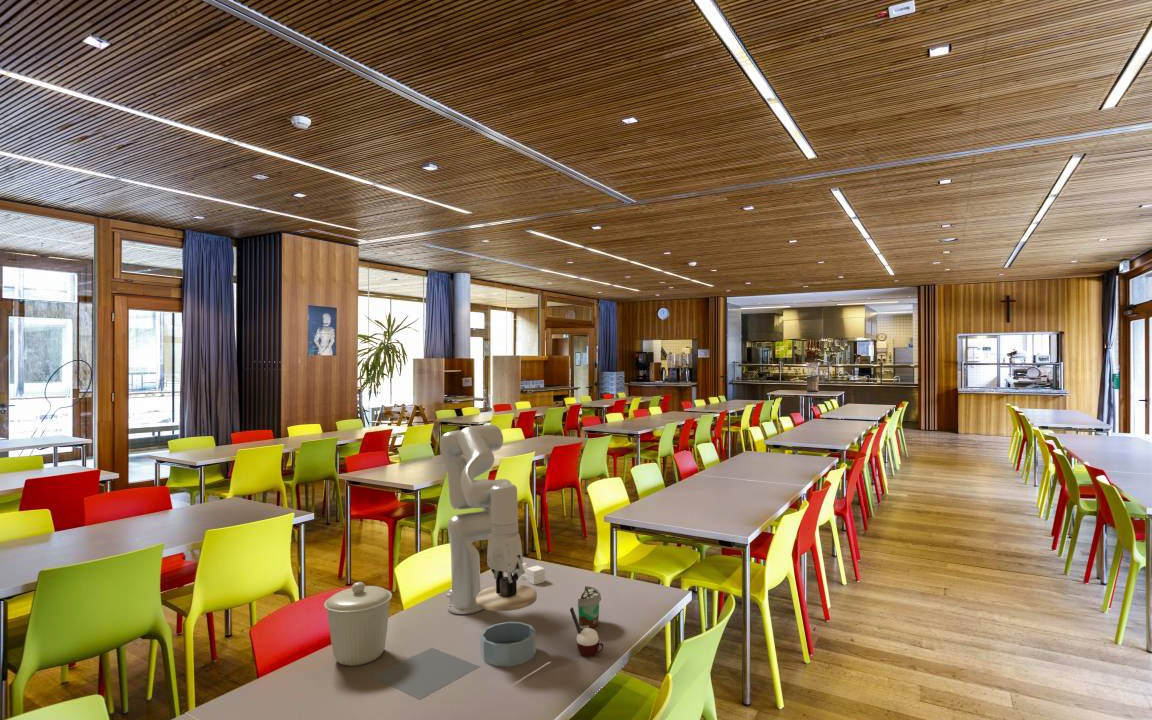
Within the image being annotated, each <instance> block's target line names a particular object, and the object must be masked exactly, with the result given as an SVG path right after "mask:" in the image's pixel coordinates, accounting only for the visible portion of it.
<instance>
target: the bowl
mask: <svg viewBox="0 0 1152 720" xmlns="http://www.w3.org/2000/svg"><path fill="white" fill-rule="evenodd" d="M536 631H537V630H536V629H535V628H534V627H533V626H532V624H528V623H525V622H521V621H507V622H506V621H505V622H500V623H495V624H492V625H490V626H488V627H486V628H484V629H483V630H482V632H481V634H480V635H479V637H480V639H479V640H480V642H479V643H480V657H481V660H482V661H483V663H486V664H488V665H491V666H494V667H513V666H518V665H522V664H525V663H526V662H528V661H530V660H533V658H534V657H535V655H536V654H537V636H536V635H537V632H536Z"/></svg>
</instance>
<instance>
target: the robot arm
mask: <svg viewBox="0 0 1152 720" xmlns="http://www.w3.org/2000/svg"><path fill="white" fill-rule="evenodd" d="M499 427H500V426H499ZM499 427H498V426H497V425H495V424H485V425H483V424H482V425H471V426H467V427H465V428H462V429H459V430H458V429H457V430H451V431H447V432H445V433H443V434H442V436H441V437H440V439H439V440H440V441H439V448H440V449H439V450H440V454H441V457H442V460H443V462H444V464H445V468H446V473H447V482H448V483H447V485H448V494H449V503H450V506H451V508H452V509H454V510H457V511H459V510H470V509H482V511H481V510H479V511H475V512H466V513H465V512H464V513H459V514H456V515H453V516H451V518H449V520H448V522H447V533H448V538H449V539H448V540H449V546H450V561H451V562H450V563H451V564H450V565H451V569H450V571H451V573H450V574H451V589H450V590H449V591H448V593H446V598H449V599H450V602H449V603H448V604H447V611H448V612H450V613H452V614H455V615H469V614H474V613H478V612H480V611H483V608H481V607H479V606H478V605H477V604H476V596H477V594H478V593H479V592H481V567H480V565H481V562H480V553H479V550H478V549H477V548H476V547H475V546H474V545H473V544H472V543H473V542H478V541H484V540H488V541H487V542H488V543H487V553H486V554H487V558H486V560H487V561H486V563H487V567H488V568H489V570H491V572H492V574H493V578H494V579H495V586H496V593H497V594H500V578H502V577H505V576H504V575H505V573H506V574H507V577H508V581H509V582H508V583H507V596H508V597H511V596H513V595H516V594H517V585H518V584H517V581H519V579H520V578H519V577H520V576H521V575H523V574H525V570H524V568H523V563H524V562H523V560H524V559H523V548H522V547H523V546H522V541H521V535H520V533H519V515H518V514H519V513H518V512H519V510H518V489H517V486H516V485H515V484H513V483H512V482H511V480H508V479H506V478H498V479H486V478H481V479H476V478H477V477H479V476H481V475H482V474H484V473H486V472H487V471H489V470H490V469H491V468H492V467H493V465H494V463H495V456H494V453H493V452H495V451H498V450H500V449H501V448H502V447H503V445H504V444H503V443H504V435H503V432H502V430H501V428H499ZM517 570H518V572H517ZM512 573H513V575H512Z"/></svg>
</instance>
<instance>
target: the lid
mask: <svg viewBox="0 0 1152 720" xmlns="http://www.w3.org/2000/svg"><path fill="white" fill-rule="evenodd" d="M508 582H509V581H508V576H503V577H502V578H500V594H497V593H496V585H494V586H490V587H487V588H484V589H483V590H480V592H479V593H478V594H477V596H476V604H477V605H478V606H479V607H481V608H483V609H484V610H487V611H491V612H495V611H496V612H508V611H509V612H510V611H516V610H517V611H518V610H520V609H521V610H522V609H523V608H526V607H529V606H531V605H533V604H534V603H535V602H537V598H538V597H537V596H538V595H537V590H536V589H535V588H533V587H531V586H528V585H525V584H524V585H523V584H516V585H517V594H516V595H513V596H511V597H508V596H507V583H508ZM483 609H482V610H483Z"/></svg>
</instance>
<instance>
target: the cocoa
mask: <svg viewBox="0 0 1152 720" xmlns="http://www.w3.org/2000/svg"><path fill="white" fill-rule="evenodd" d="M569 612H570V614H571V617H572V621H573V623H574V625H575V627H576V631H577V636H576V647H577V651H578V653H579V654H580V655H582V656H583V657H585V656H586V658H590V657H589V656H591V657H593V656H595V655H596V654H599V653H600V652H602V651H603V650H604V648H605V647H604V644H603V643H602V642H600V639H599V634H598V632H597V631H596V630H595V629H591V628H584V629H583V630H582V631H581V629H580V626H579V619H578V618H577V615H576V612H575V609H574V607H571V608H570V609H569ZM599 646H601V649H599ZM587 656H588V657H587Z"/></svg>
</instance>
